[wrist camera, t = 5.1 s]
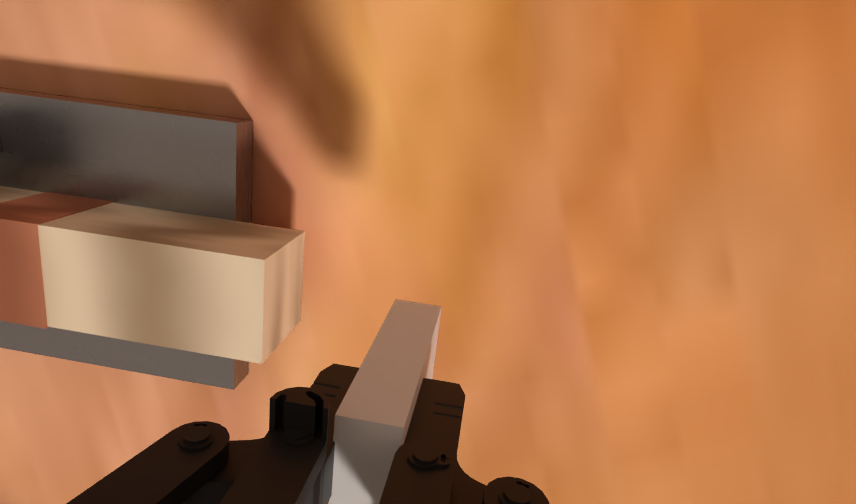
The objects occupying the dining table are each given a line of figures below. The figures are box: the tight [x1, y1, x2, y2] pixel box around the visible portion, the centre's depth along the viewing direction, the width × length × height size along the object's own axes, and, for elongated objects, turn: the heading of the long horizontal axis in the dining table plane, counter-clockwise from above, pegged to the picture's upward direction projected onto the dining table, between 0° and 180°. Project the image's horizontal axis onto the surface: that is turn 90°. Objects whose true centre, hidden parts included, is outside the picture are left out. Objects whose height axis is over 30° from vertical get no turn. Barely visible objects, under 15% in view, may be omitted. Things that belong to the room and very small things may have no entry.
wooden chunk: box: [0, 186, 305, 364], centre depth 23 cm, size 20×4×4 cm, turn 84°
